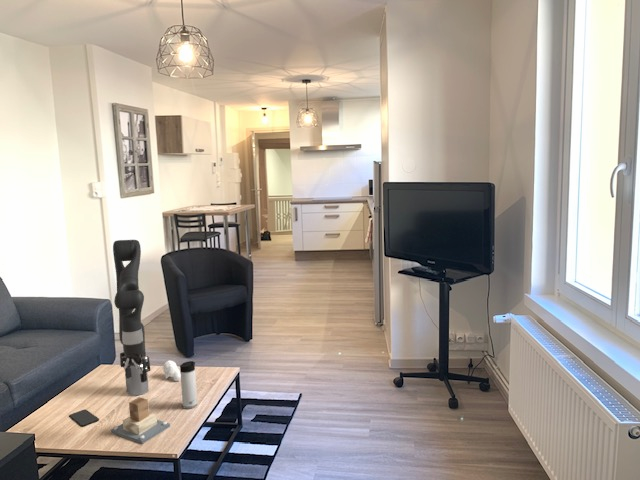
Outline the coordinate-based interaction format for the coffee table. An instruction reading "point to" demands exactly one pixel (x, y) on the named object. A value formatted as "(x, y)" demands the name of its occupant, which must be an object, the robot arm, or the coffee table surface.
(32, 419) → the coffee table surface
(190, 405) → the travel mug
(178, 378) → the white lumpy piece
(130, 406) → the walnut block
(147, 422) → the birch plinth
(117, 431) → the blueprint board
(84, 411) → the smartphone
